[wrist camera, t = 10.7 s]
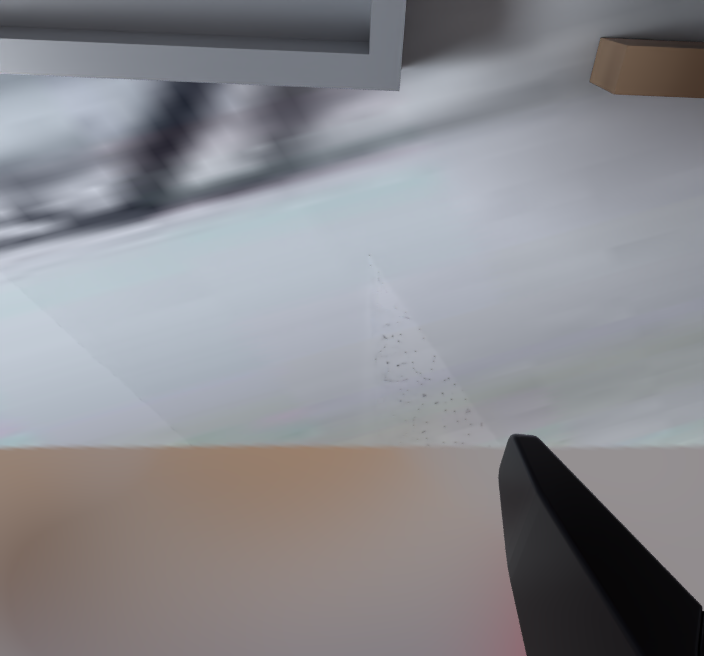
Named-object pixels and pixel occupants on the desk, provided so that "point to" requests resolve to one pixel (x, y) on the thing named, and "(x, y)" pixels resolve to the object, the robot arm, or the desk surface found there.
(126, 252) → the desk surface
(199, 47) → the grey tray
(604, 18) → the desk surface
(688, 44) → the brown wooden block
